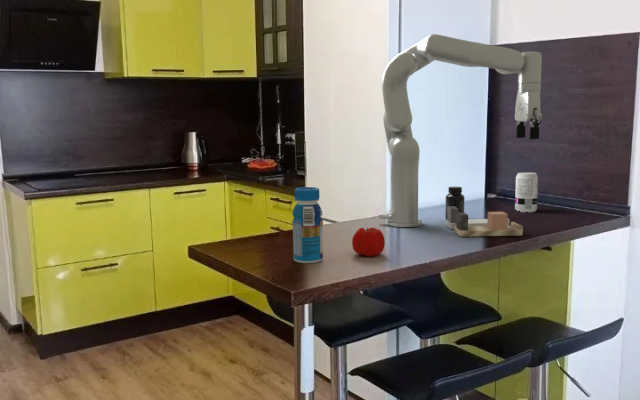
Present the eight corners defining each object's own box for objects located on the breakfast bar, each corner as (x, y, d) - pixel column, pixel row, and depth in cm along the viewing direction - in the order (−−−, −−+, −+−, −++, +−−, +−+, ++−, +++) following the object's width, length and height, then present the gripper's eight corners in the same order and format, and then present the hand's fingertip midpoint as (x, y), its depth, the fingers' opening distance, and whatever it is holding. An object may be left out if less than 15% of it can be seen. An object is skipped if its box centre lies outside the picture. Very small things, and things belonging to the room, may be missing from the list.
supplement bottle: (460, 217, 236) (461, 185, 234) (466, 220, 229) (467, 188, 227) (442, 218, 235) (443, 186, 233) (448, 221, 228) (449, 188, 226)
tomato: (375, 250, 184) (375, 225, 183) (389, 256, 176) (389, 230, 175) (346, 253, 181) (346, 227, 180) (359, 260, 173) (359, 233, 172)
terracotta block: (491, 229, 202) (492, 214, 201) (487, 226, 207) (487, 211, 206) (507, 229, 202) (507, 214, 201) (502, 226, 207) (502, 211, 206)
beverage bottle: (286, 261, 172) (285, 189, 169) (304, 255, 179) (303, 185, 176) (312, 265, 167) (310, 191, 164) (329, 258, 174) (328, 187, 171)
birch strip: (460, 236, 200) (460, 215, 199) (454, 231, 208) (454, 211, 207) (522, 235, 201) (523, 214, 200) (514, 230, 209) (514, 210, 208)
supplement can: (510, 210, 250) (511, 172, 248) (528, 208, 253) (529, 171, 251) (523, 213, 243) (524, 174, 240) (541, 211, 245) (542, 173, 243)
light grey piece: (450, 228, 213) (451, 209, 212) (445, 224, 221) (445, 205, 220) (509, 227, 214) (509, 208, 213) (501, 223, 221) (502, 204, 220)
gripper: (507, 89, 224) (506, 137, 227) (531, 87, 207) (529, 139, 210) (527, 89, 225) (525, 137, 228) (552, 87, 208) (550, 139, 211)
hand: (527, 138), depth 219 cm, fingers open, 9 cm apart
